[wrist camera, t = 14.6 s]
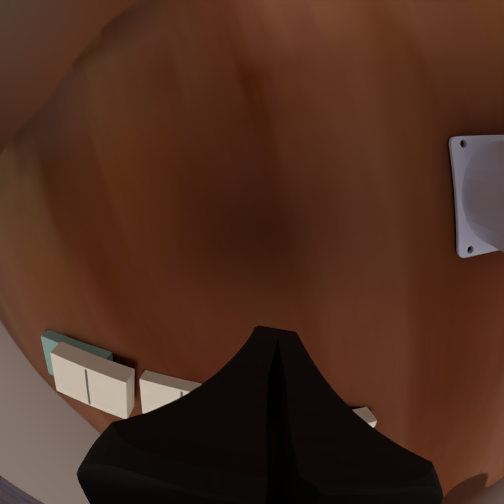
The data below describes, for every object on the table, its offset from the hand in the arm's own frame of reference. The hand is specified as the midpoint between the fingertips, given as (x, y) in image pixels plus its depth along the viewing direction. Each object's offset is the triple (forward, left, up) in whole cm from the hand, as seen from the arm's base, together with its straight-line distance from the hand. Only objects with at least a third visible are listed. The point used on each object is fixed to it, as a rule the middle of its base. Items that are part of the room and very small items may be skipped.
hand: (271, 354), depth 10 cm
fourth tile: (+13, +9, -8) cm, 18 cm away
